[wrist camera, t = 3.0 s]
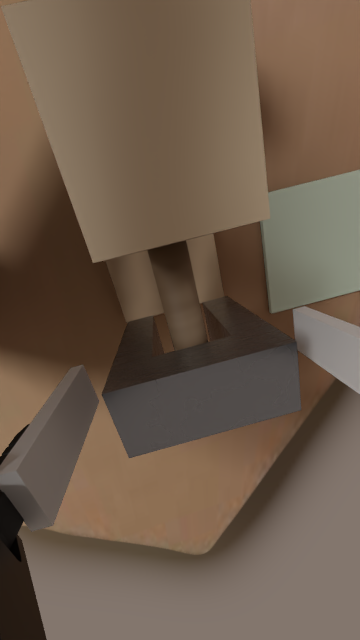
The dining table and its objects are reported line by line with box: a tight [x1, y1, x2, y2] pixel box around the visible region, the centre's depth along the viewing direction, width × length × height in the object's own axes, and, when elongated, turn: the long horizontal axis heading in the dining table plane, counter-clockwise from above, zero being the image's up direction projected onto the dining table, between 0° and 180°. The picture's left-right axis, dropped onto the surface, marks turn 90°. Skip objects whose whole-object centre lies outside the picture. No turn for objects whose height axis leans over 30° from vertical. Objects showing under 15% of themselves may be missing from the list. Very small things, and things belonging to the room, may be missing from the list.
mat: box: [260, 170, 360, 313], centre depth 27 cm, size 14×14×1 cm
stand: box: [1, 0, 270, 351], centre depth 15 cm, size 12×15×22 cm
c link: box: [102, 296, 301, 458], centre depth 13 cm, size 8×4×9 cm, turn 104°
